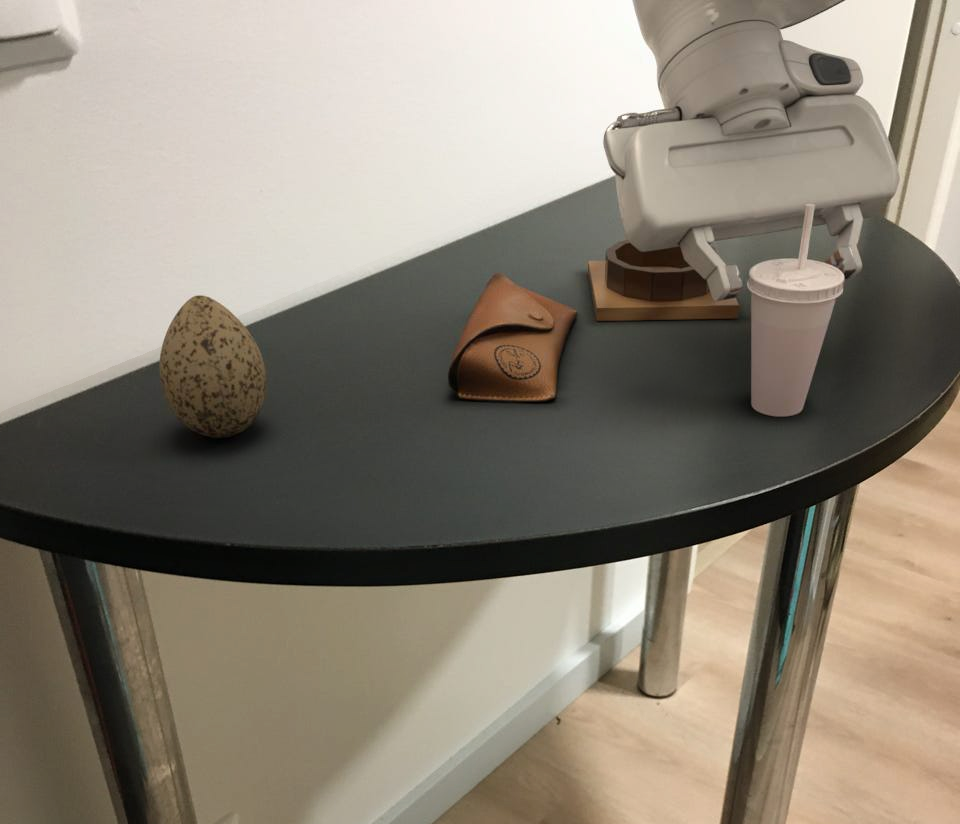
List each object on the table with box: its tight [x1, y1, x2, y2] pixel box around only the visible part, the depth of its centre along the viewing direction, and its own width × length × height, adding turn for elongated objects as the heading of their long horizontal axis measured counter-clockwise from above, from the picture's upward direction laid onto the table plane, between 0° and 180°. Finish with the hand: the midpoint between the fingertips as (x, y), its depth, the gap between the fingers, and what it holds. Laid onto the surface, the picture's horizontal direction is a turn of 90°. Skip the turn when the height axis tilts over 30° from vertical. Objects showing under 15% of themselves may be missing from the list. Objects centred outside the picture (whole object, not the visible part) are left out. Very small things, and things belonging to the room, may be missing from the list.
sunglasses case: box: [447, 272, 579, 404], centre depth 88 cm, size 18×7×7 cm
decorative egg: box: [158, 294, 268, 439], centre depth 76 cm, size 7×7×10 cm
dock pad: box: [587, 239, 740, 322], centre depth 98 cm, size 12×12×4 cm
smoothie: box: [746, 204, 845, 418], centre depth 76 cm, size 6×6×14 cm
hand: (789, 286), depth 76 cm, fingers open, 8 cm apart
